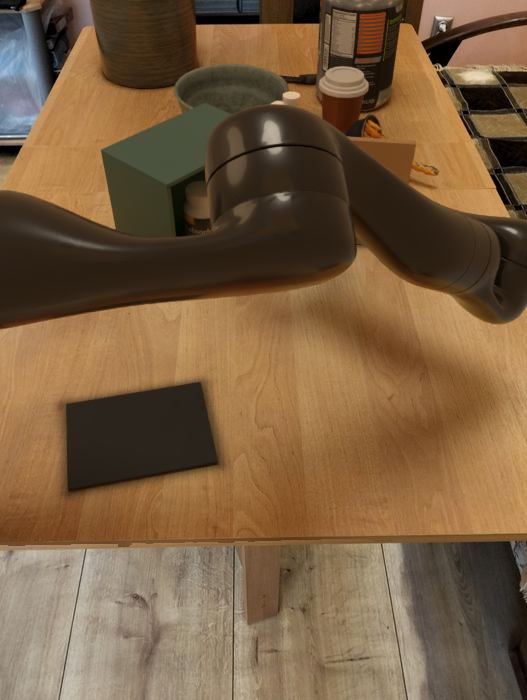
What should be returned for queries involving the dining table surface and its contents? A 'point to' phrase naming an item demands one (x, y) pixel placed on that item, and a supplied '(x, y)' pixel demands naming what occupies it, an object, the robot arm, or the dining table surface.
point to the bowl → (229, 87)
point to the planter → (145, 40)
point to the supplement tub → (360, 43)
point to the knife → (302, 78)
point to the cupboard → (158, 172)
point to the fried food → (372, 129)
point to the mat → (137, 436)
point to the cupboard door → (390, 154)
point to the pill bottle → (196, 209)
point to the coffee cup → (342, 96)
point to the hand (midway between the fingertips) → (260, 160)
